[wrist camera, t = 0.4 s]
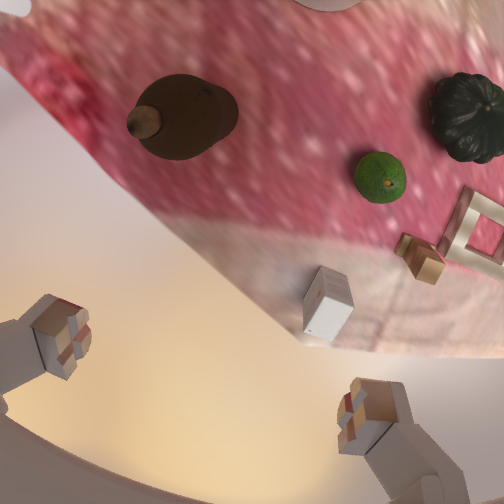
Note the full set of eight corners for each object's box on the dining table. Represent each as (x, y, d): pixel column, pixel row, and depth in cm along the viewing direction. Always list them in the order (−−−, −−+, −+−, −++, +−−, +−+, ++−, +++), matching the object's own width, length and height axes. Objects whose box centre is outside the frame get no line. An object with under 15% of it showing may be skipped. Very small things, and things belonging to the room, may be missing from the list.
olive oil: (194, 73, 46) (115, 54, 24) (253, 97, 47) (215, 88, 25) (170, 130, 51) (82, 154, 29) (226, 155, 52) (170, 195, 29)
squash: (514, 168, 39) (543, 117, 26) (444, 188, 44) (461, 135, 31) (478, 104, 44) (491, 46, 31) (411, 119, 49) (412, 58, 35)
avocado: (385, 140, 47) (409, 151, 36) (401, 184, 50) (426, 205, 39) (342, 158, 49) (354, 172, 39) (359, 201, 52) (374, 226, 41)
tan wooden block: (403, 232, 53) (419, 254, 45) (433, 244, 53) (452, 267, 45) (394, 251, 55) (408, 276, 47) (424, 262, 55) (441, 287, 47)
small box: (328, 308, 62) (332, 343, 52) (302, 298, 61) (302, 333, 52) (347, 275, 58) (355, 308, 49) (320, 264, 58) (324, 296, 48)
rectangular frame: (464, 185, 48) (475, 191, 44) (521, 218, 48) (532, 225, 44) (436, 248, 53) (444, 258, 50) (494, 273, 53) (503, 282, 50)
